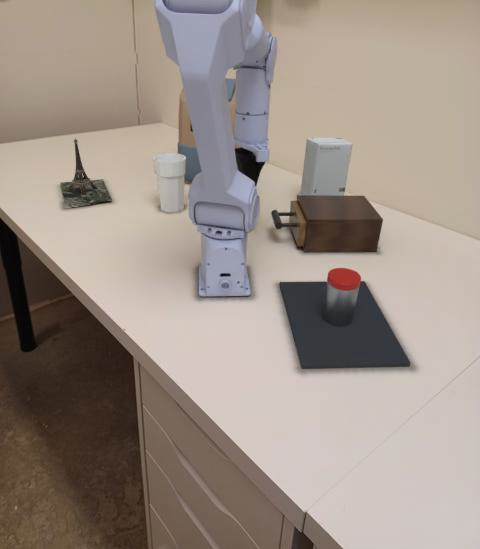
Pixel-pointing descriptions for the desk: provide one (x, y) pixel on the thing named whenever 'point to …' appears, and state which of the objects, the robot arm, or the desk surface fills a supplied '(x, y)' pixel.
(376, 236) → the cabinet
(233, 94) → the tan and blue canister
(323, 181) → the cosmetic box
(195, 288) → the desk surface
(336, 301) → the tin
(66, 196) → the eiffel tower figurine
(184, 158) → the cup
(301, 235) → the drawer
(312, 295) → the mat
